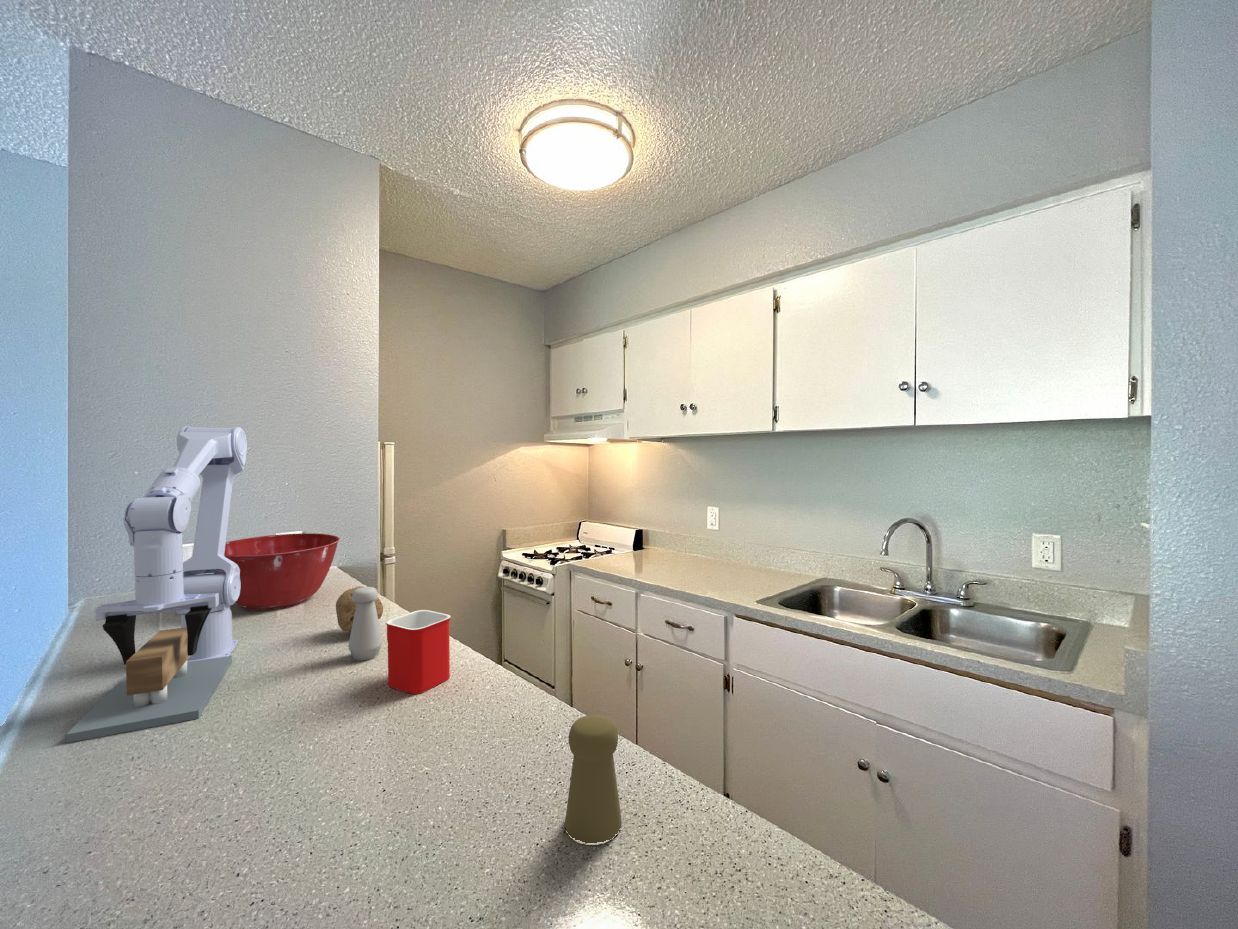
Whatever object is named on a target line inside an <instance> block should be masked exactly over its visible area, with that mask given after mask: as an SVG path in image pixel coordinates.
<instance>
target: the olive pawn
mask: <svg viewBox="0 0 1238 929" xmlns="http://www.w3.org/2000/svg"><path fill="white" fill-rule="evenodd" d="M618 743H619V732H618V729H617V726H616V724H615V723H614V721H613V720H611V719H610V718H609V717H607V716H605V715H601V714H588V715H583V716H581V717H580V718H578V719H576V720H575V721H574V722H573V723H572V725H571V727H570V729H569V732H568V745H569V749H570V753H571V754H572V755H573V760H572V766H571V774H570V780H569V788H568V789H569V791H568V796H567V805H566V812H565V819H564V829H565V828H566V831H567V832H568V834H569V835H570V836H571V837H572V838H575V840H580V841H582V842H585V843H597V842H604V841H606V840H610V839H612V838H613V837H614V836H615V834H617V833H618V831H619V829H620V828H621V829H622V826H621V822H622V823H623V821H622V815H621V814H622V813H621V805H620V797H619V791H618V781H617V774H616V767H615V759H614V753H615V751H617V748H618ZM566 831H565V832H566Z"/></svg>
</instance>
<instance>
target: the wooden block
mask: <svg viewBox="0 0 1238 929" xmlns="http://www.w3.org/2000/svg"><path fill="white" fill-rule="evenodd" d="M187 642H188V634H187V627H185V628H181V627H180V628H171V629H170V628H169V629H163V630H161V629H160V630H159V631H158V632H157V633H156V634H154V635H153V636H152V637H151V638H150V639H149V640H148V641H147V642H145V644H144V645H142V647H140V648H139V649H138V650H137V651H135V654H134V655H133V656H131V657H130V658H129V659H128V660H127V661H126V665H125V674H126V675H125V677H126V682H127V696H128V695H135V694H141V693H147V692H153V691H159V690H163V689H164V688H165V687H166V685H167V684H168V683H169V682H170V680H171V679H172V678H173V677H174V675H175V674H176V673H177V672H178V671H179V669H180V668H181V667H182V666H183V664H184V663H185V662H186V661H187V660H188V658H189V657H190V656H191V655H190V656H188V654H187Z"/></svg>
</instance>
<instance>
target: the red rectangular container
mask: <svg viewBox="0 0 1238 929" xmlns="http://www.w3.org/2000/svg"><path fill="white" fill-rule="evenodd" d="M451 616H452V615H450V614H447V613H443V612H438V611H433V610H429V609H419V610H414V611H412V612H409V613H406V614H403V615H399V616H397V617H396V616H395V617H394V618H391V619H388V620H387V621H386V622H385V624H386V642H387V676H388V677H387V681H388V682H387V683H388V686H389V687H391V688H393V689H395V690H398V691H401V692H405V693H407V694H410V695H417V694H418V695H420V694H422V693H425V692H427V691H429V690H431V689H433V688H434V687H437V686H439V685H440V684H442V683H444V682H446V681H448V680H449V679H450V674H451V673H450V671H451V670H450V666H451V665H450V664H451V662H450V621H451Z"/></svg>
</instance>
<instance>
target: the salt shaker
mask: <svg viewBox="0 0 1238 929" xmlns="http://www.w3.org/2000/svg"><path fill="white" fill-rule="evenodd" d="M378 592H379V591H378V590H377V588H375V587H373V586H362V588H359V589H356V590H355V591H354V592H353V594H352V600H353V602H354V603H357V604H356V610H355V615H354V620H353V625H352V630H351V634H350V635H349V640H348V645H347V647H348V650H349V651H350V654H351V655H352V658H353V659H354V661H360V662H362V661H363V662H364V661H369V660H372V659H375V658H376V657H377V656H378V655H379V654H380V650H381V648H382V645H383V637H382V632H381V627H380V621H379V620H378V616H377V611H376V606H375V602H374V601H375V600H376V599H377V597H378V598H379V593H378Z"/></svg>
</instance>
